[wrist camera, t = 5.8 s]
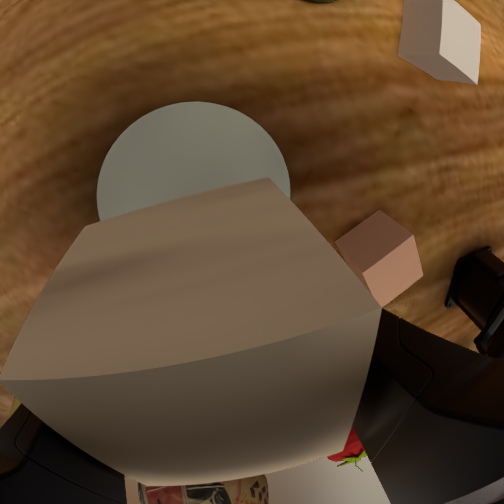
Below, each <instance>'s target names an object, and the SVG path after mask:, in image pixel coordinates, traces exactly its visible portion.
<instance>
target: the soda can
mask: <svg viewBox="0 0 504 504" xmlns="http://www.w3.org/2000/svg"><path fill="white" fill-rule="evenodd" d="M312 1H316V2H333V1H337V0H312Z"/></svg>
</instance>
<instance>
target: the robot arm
mask: <svg viewBox="0 0 504 504" xmlns="http://www.w3.org/2000/svg"><path fill="white" fill-rule="evenodd" d="M491 252H492V248H491V247H490V246H488V247H486V248H484V249H481V250H479V251H477V252H475V253H473V254H470V255H468V256H466V257H464V258H461V259H460V260H459V261H458V263H457V266H456V270H455V274H454V277H453V281H452V284H451V287H450V291H449V294H448V297H447V300H446V303H445V307H446V308H450V307H452V306H454V305H456V304H457V305H458V306H459V307H460V308H461V310H462V311H463V312H464V313H465V314H466V315H467V316H468V317H469V318H470V319H471V320H472V321H473V322H474V323H475V325H476V326H477V327H478V328H479V329H480V330H481V332H480V334H479V335H478V336H477V337H476V338H475V339H474V340H473V341H474V343H475V345H476V348H477V349H478V351H479V353H477V352H475V351H472V350H470V349H467V348H465V347H463V346H460V345H458V344H455V343H453V342H450V341H448V340H445V339H443V338H441V337H439V336H436V335H434V334H432V333H430V332H427V331H425V330H423V329H421V328H419V327H417V326H415V325H413V324H411V323H410V322H408V321H406V320H404V319H402V318H400V319H399V317H398V316H396V315H394V314H392V313H391V312H389V311H387V310H385V309H383V308H382V310H381V316H380V321H379V326H378V331H377V336H376V341H375V345H374V350H373V354H372V358H371V362H370V366H369V370H368V374H367V378H366V381H365V385H364V389H363V392H362V395H361V399H360V402H359V405H358V409H357V412H356V415H355V418H354V421H353V424H352V426H353V428H354V430H355V432H356V434H357V436H358V438H359V440H360V442H361V444H362V446H363V448H364V450H365V452H366V454H367V456H368V458H369V460H370V462H372V463H371V464H372V466H373V468H374V470H375V472H376V474H377V476H378V478H379V480H380V482H381V484H382V486H383V488H384V491H385V492H386V494H387V497H388V499H389V501H390V503H391V504H504V262H503V261H501V260H500V259H499V258H498V257H496V256H495V255H494V254H492V253H491ZM0 504H127V499H126V490H125V479H124V474H122V473H120V472H118V471H116V470H114V469H113V468H111V467H109V466H107V465H106V464H104V463H102V462H101V461H99V460H97V459H96V458H94V457H92V456H91V455H89V454H88V453H86V452H84V451H83V450H81V449H80V448H78V447H77V446H75V445H74V444H73V443H71V442H70V441H68V440H67V439H65V438H64V437H63V436H61V435H60V434H59V433H57V432H56V431H55V430H53V429H52V428H51V427H49V426H48V425H47V424H46V423H44V422H43V421H42V420H41V419H40V418H38V417H37V416H36V415H35V414H34V413H32V412H31V411H30V410H29V409H28V408H27V407H26V406H25V405H23V404H22V403H21V404H20V405H19V407H18V408H17V409H16V410H15V412H14V413H13V414H12V415H11V416H10V418H9V419H8V420H7V421H6V422H5V424H4V425H3V426H2V427H1V428H0Z"/></svg>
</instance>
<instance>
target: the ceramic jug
mask: <svg viewBox="0 0 504 504" xmlns="http://www.w3.org/2000/svg"><path fill="white" fill-rule="evenodd" d="M138 494H139V500H140V504H268V484H267V479H266V477H265V475H264V474H262V475H257V476H252V477H247V478H241V479H235V480H229V481H221V482H213V483H204V484H193V485H178V486H146V485H144V484H142V483H140V482H138Z"/></svg>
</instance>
